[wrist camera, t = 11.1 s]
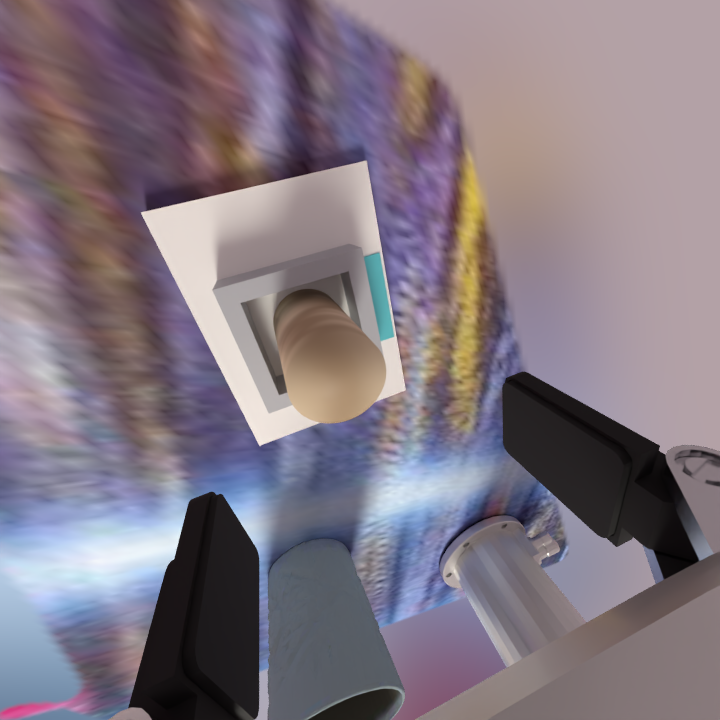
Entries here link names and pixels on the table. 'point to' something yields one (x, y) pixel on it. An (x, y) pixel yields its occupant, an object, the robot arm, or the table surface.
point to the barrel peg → (326, 358)
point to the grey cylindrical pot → (326, 640)
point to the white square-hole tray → (278, 277)
